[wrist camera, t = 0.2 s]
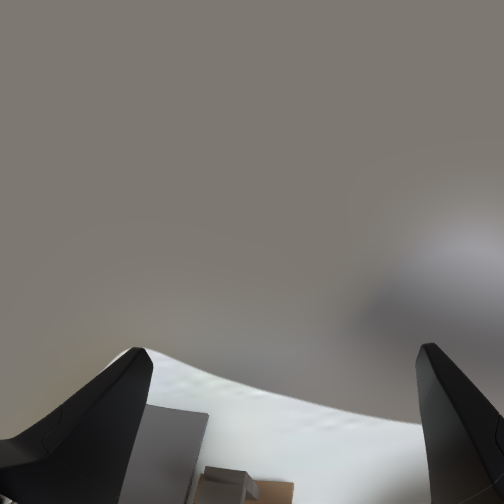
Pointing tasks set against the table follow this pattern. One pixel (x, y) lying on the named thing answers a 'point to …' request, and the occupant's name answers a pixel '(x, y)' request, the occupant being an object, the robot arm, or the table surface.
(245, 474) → the wooden knob panel
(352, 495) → the table surface
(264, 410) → the table surface
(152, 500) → the grey flat plate
